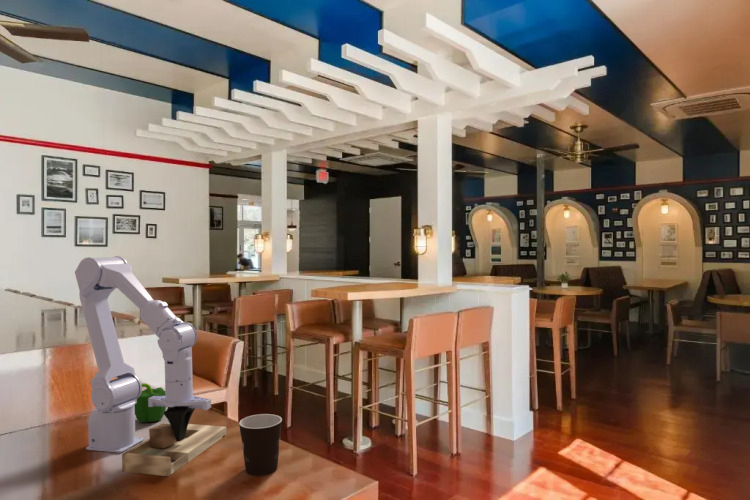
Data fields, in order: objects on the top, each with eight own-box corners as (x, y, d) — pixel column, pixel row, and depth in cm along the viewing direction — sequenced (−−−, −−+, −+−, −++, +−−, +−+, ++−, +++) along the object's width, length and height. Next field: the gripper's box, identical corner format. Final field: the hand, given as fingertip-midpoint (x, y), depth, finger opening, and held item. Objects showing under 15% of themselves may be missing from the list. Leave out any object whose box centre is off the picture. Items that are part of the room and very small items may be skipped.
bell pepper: (172, 414, 143) (171, 378, 143) (161, 424, 134) (160, 386, 134) (141, 415, 142) (140, 379, 142) (128, 426, 134) (127, 387, 134)
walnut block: (150, 447, 114) (149, 428, 114) (163, 441, 118) (162, 423, 118) (164, 447, 113) (163, 429, 113) (177, 442, 116) (176, 423, 117)
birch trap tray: (122, 471, 107) (121, 454, 107) (186, 431, 129) (186, 417, 129) (168, 476, 104) (168, 458, 104) (226, 434, 127) (226, 420, 127)
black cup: (273, 480, 102) (272, 429, 102) (232, 476, 104) (231, 427, 104) (294, 456, 113) (293, 410, 113) (257, 453, 115) (256, 408, 115)
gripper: (138, 382, 113) (140, 444, 113) (197, 385, 110) (199, 449, 110) (159, 374, 120) (160, 432, 120) (215, 376, 117) (217, 436, 117)
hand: (180, 439), depth 116 cm, fingers closed
